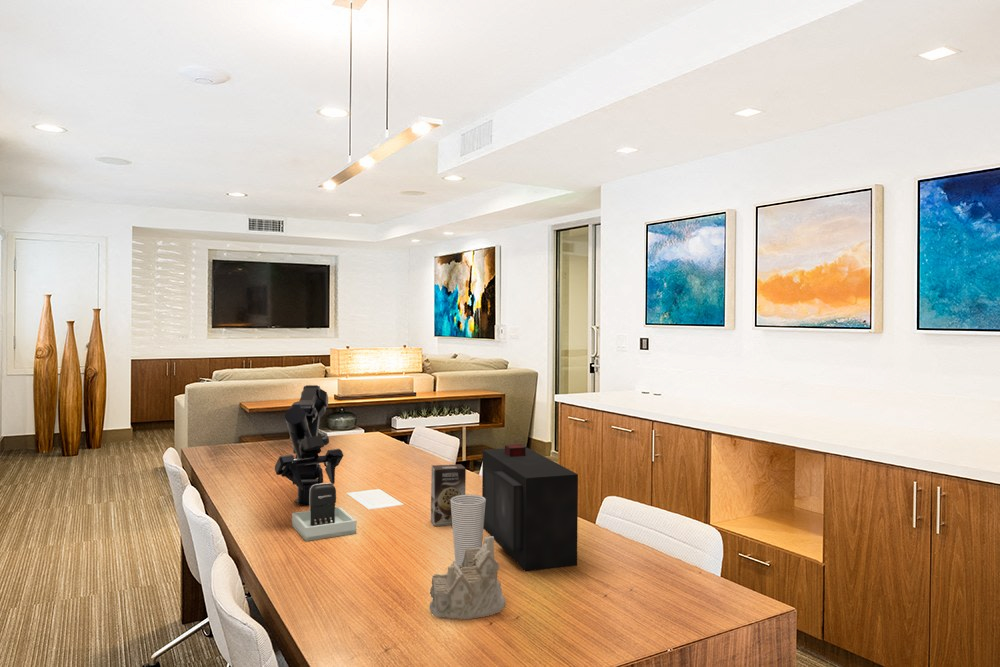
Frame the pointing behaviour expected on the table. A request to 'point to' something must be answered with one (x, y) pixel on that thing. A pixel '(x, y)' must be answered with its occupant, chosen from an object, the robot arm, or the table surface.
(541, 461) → the speaker
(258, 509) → the table surface
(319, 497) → the battery charger
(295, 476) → the robot arm
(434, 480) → the coffee box
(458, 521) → the cup
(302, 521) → the tray
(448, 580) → the ceramic cottage
